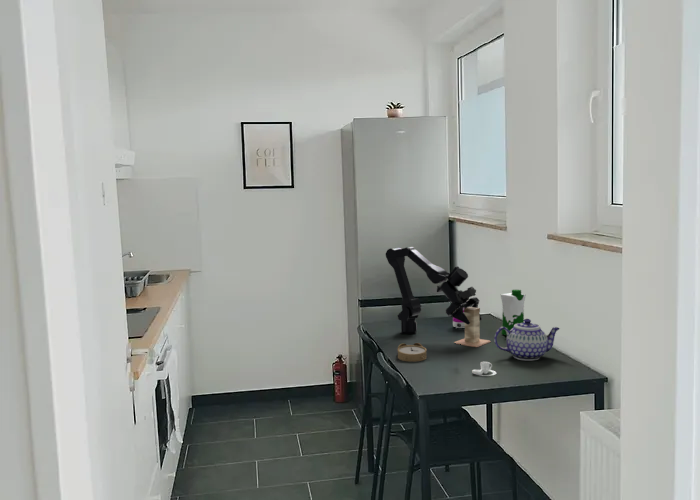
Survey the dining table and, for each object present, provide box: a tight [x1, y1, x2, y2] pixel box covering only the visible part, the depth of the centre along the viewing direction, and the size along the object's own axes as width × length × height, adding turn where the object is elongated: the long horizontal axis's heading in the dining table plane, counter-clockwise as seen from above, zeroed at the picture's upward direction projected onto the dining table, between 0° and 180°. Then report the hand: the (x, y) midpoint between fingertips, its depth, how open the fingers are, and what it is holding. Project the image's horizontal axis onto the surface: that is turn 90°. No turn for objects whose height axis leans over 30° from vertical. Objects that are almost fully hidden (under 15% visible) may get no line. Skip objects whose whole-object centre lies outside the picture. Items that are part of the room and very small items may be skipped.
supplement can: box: [452, 297, 471, 329], centre depth 308 cm, size 8×8×15 cm
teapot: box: [493, 318, 561, 361], centre depth 254 cm, size 25×15×15 cm, turn 88°
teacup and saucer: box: [471, 360, 497, 377], centre depth 235 cm, size 9×8×4 cm
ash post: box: [464, 307, 481, 343], centre depth 278 cm, size 5×5×14 cm
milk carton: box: [500, 289, 526, 336], centre depth 291 cm, size 9×9×20 cm
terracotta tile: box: [453, 337, 491, 348], centre depth 279 cm, size 11×11×1 cm
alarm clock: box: [397, 342, 427, 363], centre depth 259 cm, size 11×5×15 cm
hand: (475, 321), depth 277 cm, fingers open, 9 cm apart
